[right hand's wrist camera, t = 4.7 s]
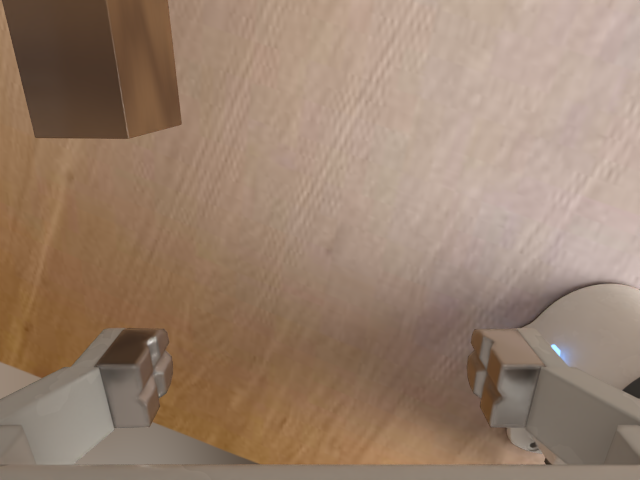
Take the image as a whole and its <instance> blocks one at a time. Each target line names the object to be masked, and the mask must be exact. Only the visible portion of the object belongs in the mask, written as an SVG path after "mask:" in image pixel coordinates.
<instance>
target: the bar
mask: <svg viewBox="0 0 640 480" xmlns="http://www.w3.org/2000/svg"><path fill="white" fill-rule="evenodd" d="M2 2H3V6H4V10H5V15H6V19H7V23H8V27H9V31H10V35H11V39H12V43H13V48H14V52H15V56H16V60H17V64H18V68H19V72H20V77H21V81H22V85H23V89H24V93H25V97H26V101H27V105H28V110H29V114H30V118H31V122H32V126H33V130H34V134H35V137H36V138H107V139H129V138H132V137H136V136H140V135H144V134H148V133H151V132H155V131H159V130H163V129H167V128H170V127H174V126H178V125H181V124H182V122H181V114H180V105H179V96H178V87H177V78H176V69H175V60H174V52H173V43H172V34H171V25H170V16H169V7H168V0H2Z"/></svg>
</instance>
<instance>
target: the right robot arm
mask: <svg viewBox="0 0 640 480" xmlns="http://www.w3.org/2000/svg"><path fill="white" fill-rule="evenodd" d="M168 344H169V338H168V334H167V331H166V330H165V329H148V328H107V329H104V330H103V331H102V332H101V333H100V334H99V335H98V337H97V338H96V339H95V340H94V341H93V342H92V343H91V345H90V346H89V347H88V348H87V349H86V350H85V351H84V353H83V354H82V355H81V356H80V357H79V358H78V359H77V360H76V362H75V363H74V364H73V365H72V366H71V367H64V368H62V369H60V370H58V371H56V372H54V373H52V374H50V375H48V376H46V377H44V378H42V379H40V380H38V381H36V382H34V383H32V384H30V385H28V386H26V387H24V388H22V389H20V390H18V391H16V392H14V393H12V394H10V395H8V396H6V397H4V398H2V399H0V480H640V290H639V289H637V288H634V287H632V286H628V285H623V284H598V285H592V286H588V287H584V288H581V289H578V290H576V291H573V292H571V293H569V294H567V295H565V296H563V297H562V298H560V299H559V300H557V301H556V302H554V303H553V304H552V305H550V306H549V307H548V308H547V309H546V310H545V311H544V312H543V313H542V314H541V315H540V316H539V317H538V318H537V319H535V320H534V321H533V322H532V323H530V324H529V325H526V326H524V327H522V328H513V329H475V330H474V332H473V334H472V338H471V344H472V346H473V348H474V349H475V350H474V351H473V352H472V353H471V354H470V355H469V356H468V363H467V375H468V380H469V384H470V387H471V389H472V391H473V393H474V394H476V395H477V396H478V397H480V398H481V403H480V407H481V409H482V411H483V413H484V415H485V417H486V419H487V421H488V423H489V425H490V427H506V428H507V436H508V438H509V440H510V441H511V442H512V443H513V444H514V445H516V446H517V447H519V448H521V449H524V450H527V451H530V452H534V453H539V454H543V455H544V456H545V457H546V458H545V461H544V462H545V464H546V465H73V464H74V463H76V462H77V461H78V460H79V459H80V458H82V457H83V456H84V455H85V454H86V453H87V452H89V451H90V450H91V449H92V448H93V447H95V446H96V445H97V444H98V443H100V442H101V441H102V440H103V439H104V438H105V437H107V436H108V435H109V434H110V433H111V432H113V431H114V428H134V427H150V425H151V423H152V421H153V419H154V417H155V415H156V413H157V411H158V409H159V407H160V403H159V398H160V397H162V396H163V395H164V394H166V393H167V391H168V389H169V387H170V384H171V380H172V375H173V362H172V356H171V355H170V354H169V353H168V352H167V351H166V350H165V349H166V348H167V346H168Z"/></svg>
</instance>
